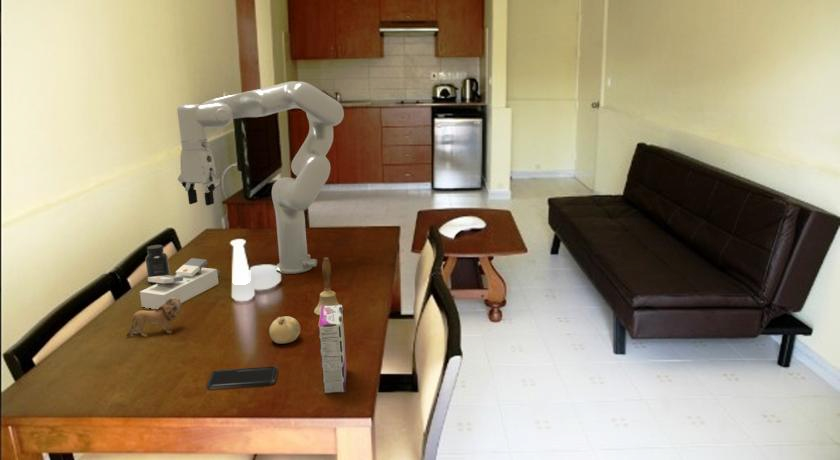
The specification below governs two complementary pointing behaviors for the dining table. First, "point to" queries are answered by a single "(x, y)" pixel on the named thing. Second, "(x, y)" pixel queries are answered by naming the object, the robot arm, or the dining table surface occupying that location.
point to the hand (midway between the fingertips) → (201, 203)
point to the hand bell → (326, 289)
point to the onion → (284, 330)
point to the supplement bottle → (156, 262)
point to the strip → (179, 288)
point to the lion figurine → (157, 316)
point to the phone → (242, 378)
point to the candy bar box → (332, 348)
